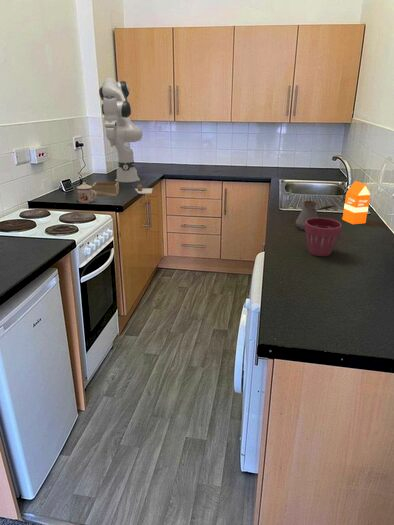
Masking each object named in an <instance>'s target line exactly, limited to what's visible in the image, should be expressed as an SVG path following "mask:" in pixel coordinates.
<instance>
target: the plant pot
mask: <svg viewBox="0 0 394 525" xmlns="http://www.w3.org/2000/svg"><path fill="white" fill-rule="evenodd" d="M342 226H343V224H342V222H340V221H338V220H336V219H332V218H327V217H318V218H310V219H308V220H306V222H305V230H304V232H305V233H306V244H307V252H308V253H309V254H311V255H313V256H317V257H318V256H319V257H327V256H330V255H331V254H332V251H333V250H334V247H335V244H336V241H337V239H338V236H340V235H341V234H342Z"/></svg>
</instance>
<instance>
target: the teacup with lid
mask: <svg viewBox="0 0 394 525" xmlns="http://www.w3.org/2000/svg"><path fill="white" fill-rule="evenodd" d="M76 190H77V191H76V192H77V199H78V202H79V203H87V204H92V203H93V202H94V199H96V198H97V196H96V192H95V191H93V190H92V185H89V184H87V183H86V182H82V184H80V185H79V186H76ZM92 192H94V194H95V196H93V193H92Z"/></svg>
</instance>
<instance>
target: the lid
mask: <svg viewBox="0 0 394 525" xmlns="http://www.w3.org/2000/svg"><path fill="white" fill-rule="evenodd" d="M136 186H137V188H134V190H135V191H136V192H137V193H138V195H140V194H141V195H146V194H147V195H149V194H152V193H153V187H152V188H151V187H150V188H148V187H146V188H143V184H141V183H139V184H137V185H136Z"/></svg>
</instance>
